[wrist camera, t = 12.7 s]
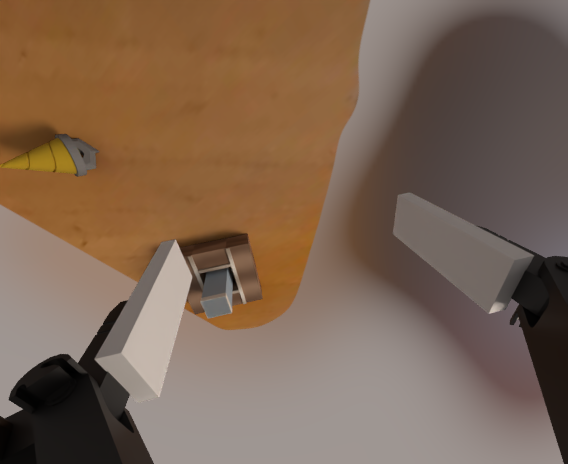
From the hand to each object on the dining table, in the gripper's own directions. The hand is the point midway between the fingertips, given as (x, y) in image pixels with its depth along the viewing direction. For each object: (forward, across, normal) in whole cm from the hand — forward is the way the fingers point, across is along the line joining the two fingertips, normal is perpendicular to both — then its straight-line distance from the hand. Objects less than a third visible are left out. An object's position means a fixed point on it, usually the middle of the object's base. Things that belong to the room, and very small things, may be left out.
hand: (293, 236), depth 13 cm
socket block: (+27, -12, -21) cm, 36 cm away
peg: (+27, -12, -21) cm, 36 cm away
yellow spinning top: (+27, -26, +4) cm, 38 cm away
